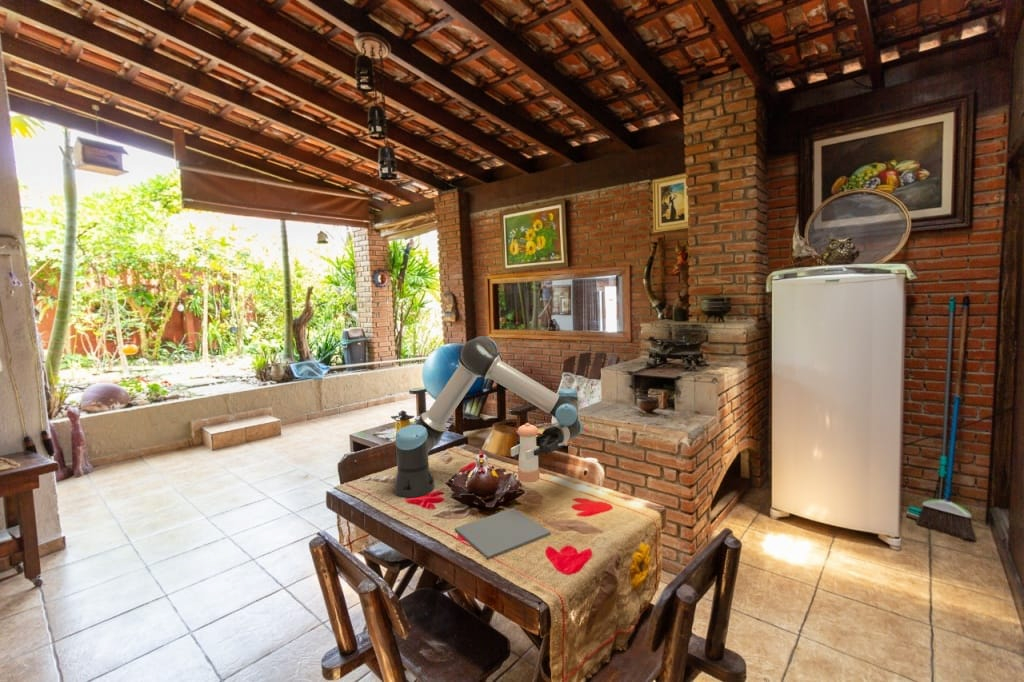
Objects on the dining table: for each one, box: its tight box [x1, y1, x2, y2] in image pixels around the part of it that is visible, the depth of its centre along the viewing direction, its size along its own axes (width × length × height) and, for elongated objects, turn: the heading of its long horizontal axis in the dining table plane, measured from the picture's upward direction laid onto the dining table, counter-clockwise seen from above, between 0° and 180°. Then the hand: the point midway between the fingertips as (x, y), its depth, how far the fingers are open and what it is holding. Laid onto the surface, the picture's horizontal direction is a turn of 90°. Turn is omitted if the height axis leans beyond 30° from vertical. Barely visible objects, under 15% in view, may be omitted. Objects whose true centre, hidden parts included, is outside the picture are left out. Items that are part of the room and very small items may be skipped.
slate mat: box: [454, 507, 552, 560], centre depth 140 cm, size 20×22×1 cm
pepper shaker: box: [517, 422, 541, 483], centre depth 155 cm, size 7×7×19 cm
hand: (519, 454), depth 151 cm, fingers closed on pepper shaker, 5 cm apart
